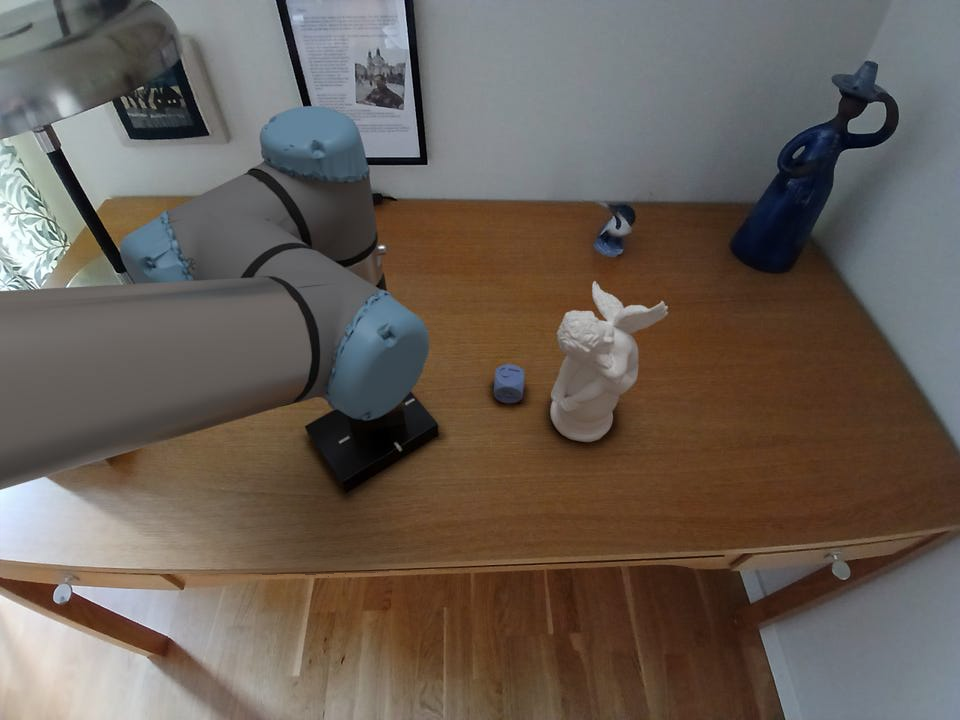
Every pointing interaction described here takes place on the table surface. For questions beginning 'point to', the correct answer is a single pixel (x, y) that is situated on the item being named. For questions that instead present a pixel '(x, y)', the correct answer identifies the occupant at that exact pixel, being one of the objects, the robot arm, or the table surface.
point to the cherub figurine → (597, 364)
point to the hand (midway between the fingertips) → (376, 415)
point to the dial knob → (394, 417)
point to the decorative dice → (509, 383)
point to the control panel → (369, 443)
